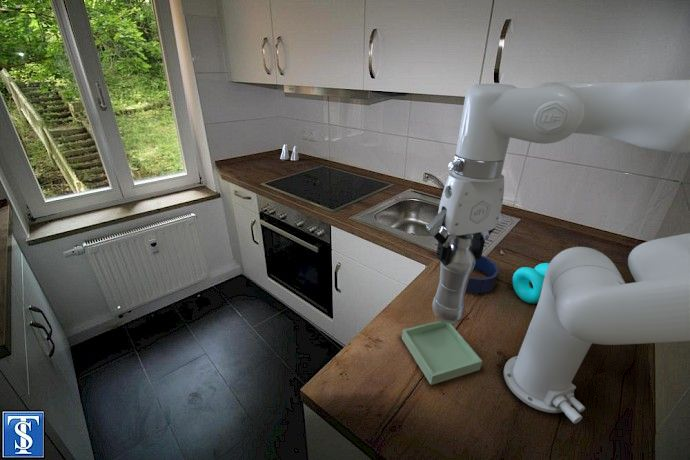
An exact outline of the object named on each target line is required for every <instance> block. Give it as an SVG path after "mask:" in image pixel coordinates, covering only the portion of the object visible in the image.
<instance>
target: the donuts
mask: <svg viewBox="0 0 690 460" xmlns="http://www.w3.org/2000/svg"><path fill="white" fill-rule="evenodd" d="M549 264H550V262H541V263H539V264H537V265H536V266H535V267H534V268H532V267H530V266H525V267H524V266H522V267H519V268H518V269H517V270H515V272H514V273H513V276H512V287H513V290H514V292H515V294H516V295H517V296H518V297H519V298H520V299H521V300H522V301H523V302H525V303H527V304H532V305H533V304H538V301H539V298H540V294H541V290H542V286H543V282H544V277H545V274H546V270H547V268H548V265H549ZM530 283H531V284H532V287H531V285H530Z"/></svg>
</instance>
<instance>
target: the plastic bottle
mask: <svg viewBox="0 0 690 460" xmlns="http://www.w3.org/2000/svg"><path fill="white" fill-rule="evenodd" d="M472 240H473V235H472V234H467V235H460V236H455V237H454V239H453V240H452V242H451V244H450V246H451V247H452V251H451V256H450V261H449V264H448V265H446V266H445V265H444V264H443V263H442V262H441V261H440V260H439V280H438V286H437V289H436V292H435V295H434V297H433V300H432V302H431V310H432V314H433V316H434V317H435V318H436V319H437V321H441V322H443V323H446V324H452V325H454V324H457V323H459V322H460V321H461V320H462V318H463V316H464V314H465V310H466V309H465V308H466V304H465V300H466V293H467V292H466V288H467V285H468V281H469V278H470V277H472V276H471V275H472V273H473V271H474V269H475V268H474V266H475V256H474V254H473V252H472V250H471V248H470V247H471V246H472Z"/></svg>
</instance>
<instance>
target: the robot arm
mask: <svg viewBox="0 0 690 460" xmlns="http://www.w3.org/2000/svg"><path fill="white" fill-rule="evenodd" d="M573 134H580V135H582V134H583V135H590V136H598V137H604V138H611V139H614V140H617V141H620V142H625V143H627V144H631V145H632V146H633V145H634V146H637V147H640V148H644V149H650V150H653V151H660V152H668V153H683V154H690V79H666V80H665V79H664V80H663V79H662V80H651V81H650V80H649V81H622V82H621V81H619V82H618V81H616V82H615V81H613V82H611V81H610V82H609V81H605V82H604V81H545V82H540V83H537V84H535V85H533V86H531V87H517V86H515V85H513V84H507V83H505V84H504V83H478V84H477V83H476V84H474V85H471V86H470V87H469V88H468V89H467V90H466V93H465V97H464V100H463V107H462V112H461V118H460V123H459V131H458V135H457V143H456V147H455V154H454V159H453V161H451V162H448V167H447V168H448V170H449V171H451V172H450V173H449V174H448V176H447V178H446V182H445V184H444V187H443V191H442V194H441V197H440V202H439V206H438V210H437V211H438V212H437V214H436V215H435V216H434V217H433V218H432V220H430V221H429V222H428V223H427V224H426V226H425V230H426V231H428V233H429V234H430V235H431V236H432V237H433V238H434V239H435V240H436V241H437V242H438V243H437V248H436V253H435V254H436V259H438V261H439V262H440V261H441V262H442V263H443V264H444V265H445V266H446V265H448V264H449V261H450V256H451V251H452V247H451V246H450V244H451V242H452V240H453V239H454V237H455V236H460V235H467V234H472V235H473V240H472V246H471V247H470V248H471V250H472V252H473V254H474V256H475V258H476V259H481V256H483V253H484V252H483V251H484V247H485V244H486V241H488V240H489V239H490V235H491V234H492V233H493V232H494V231H495V230H496V228H497V227H498V226H499V225H500V224H501V223H502V222H503V220H504V216H503V215H502V209H503V201H504V195H505V175H504V174H502V173H503V168H504V164H505V162H506V161H505V160H506V155H507V152H508V147H509V143H510V139H516V140H521V141H525V142H529V143H534V144H541V145H546V144H554V143H558V142H561V141H563V140H566V139H567V138H569V137H570V136H571V135H573ZM440 227H441V228H440ZM439 228H440V229H439ZM549 263H550V264H549V265H548V268H547V270H546V274H545V277H544V282H543V286H542V290H541V294H540V298H539V301H538V303H536V304H537V305H536V307H535V310H534V313H533V314H532V315H533V316H532V317H531V320H530V323H529V324H530V325H529V324H528V326H529V328H528V327H527V328H528V329H527V331H526V334H525V336H524V339H523V341H522V344H521V346H520V349H519V352H518V355H516V356H515V355H514V356H512V357H511V358H509V359H507V361H506V363H505V365H504V367H503V378H504V381H505V383H506V385H507V387H508V388H509V390H510V391H511V392H512V393H513V394H514V395H515V396H516V397H517V398H518V399H519V400H520V401H522V402H523V403H524V404H525V405H527V406H529V407H531V408H534V409H535V410H538V411H541V412H544V413H549V414H560V413H563V414H564V415H565V416H566V417H567V418H568V419H569V421H571V422H572V423H573V424H578V423H579V422H580V421H582V420H583V416H582V415H581V414H580V413H582V412H584V411H585V410H586V407H585V406H584V405H583V404H582V403H581V402H580V401H579V400H578V399H576V397H575V390H576V389H577V386H576V385H575V384H574V383H572V382H573V380H574V378H575V376H576V375H577V372H578V370H579V369H580V366H581V365H582V363H583V361H584V360H585V357H586V355H587V353H588V352H589V350H590V348H591V346H592V345H593V344H594V345H603V346H605V345H607V346H619V345H641V344H643V345H644V344H660V343H661V344H662V343H677V342H678V343H680V342H690V232H687V233H682V234H676V235H671V236H666V237H661V238H655V239H652V240H647V241H645V242H643V243H640V244H638V245H636V246H635V247H634V248H633V249H632V250H631V251H630V253H629V255H628V257H627V266H628V269H629V272H630V273H631V274H630V275H631V276H632V278H633V280H634V282H628V283H626V281H625V280H624V278H623V276H622V274H621V273H620V271H619V270H618V268H617V266H616V264H615V263H614V262H613V261H612V260H611V259H610V258H609V257H608V256H607V255H606V254H604V253H603V252H601V251H599V250H598V249H594V248H592V247H588V246H574V247H569V248H565V249H564V250H561V251H560V252H558V253H557V254H556V255H555V256H554V257H553V258H552V259H551V260H550V262H549Z"/></svg>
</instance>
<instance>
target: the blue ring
mask: <svg viewBox="0 0 690 460" xmlns="http://www.w3.org/2000/svg"><path fill="white" fill-rule="evenodd" d="M473 269H476V270H478V271H481V272H483V273H484V274H486V275H487V277H474V276H470V278H469V281H468V285H467V288H466V293H468V294H469V293H470V294H476V295H477V294H478V295H481V294H485V293H490V292H491V291H493V289H494V288H495V287H496V284H497V280H498V277H499V275H500V269H499V267H498V265H497V263H496V262H494V261H493V260H492V259H490V258H489V257H487V256H484V255H482V256H481V259H476V258H475V266H474V268H473Z"/></svg>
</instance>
